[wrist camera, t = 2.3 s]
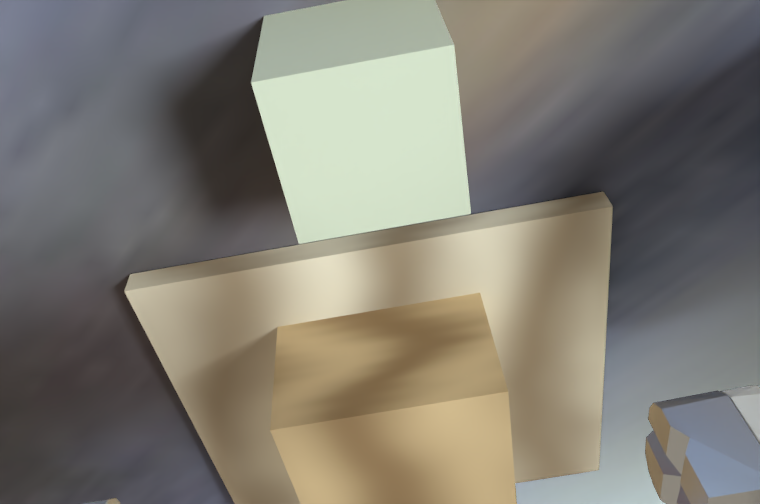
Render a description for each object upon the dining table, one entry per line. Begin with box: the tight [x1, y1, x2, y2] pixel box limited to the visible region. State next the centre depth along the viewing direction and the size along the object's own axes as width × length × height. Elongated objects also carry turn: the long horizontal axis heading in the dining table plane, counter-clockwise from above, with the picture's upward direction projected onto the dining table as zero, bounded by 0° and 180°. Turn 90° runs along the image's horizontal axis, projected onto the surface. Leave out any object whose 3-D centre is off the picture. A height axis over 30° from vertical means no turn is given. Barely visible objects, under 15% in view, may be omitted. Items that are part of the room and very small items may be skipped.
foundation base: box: [124, 192, 613, 504], centre depth 28 cm, size 18×16×6 cm
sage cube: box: [251, 0, 471, 244], centre depth 20 cm, size 5×5×5 cm
